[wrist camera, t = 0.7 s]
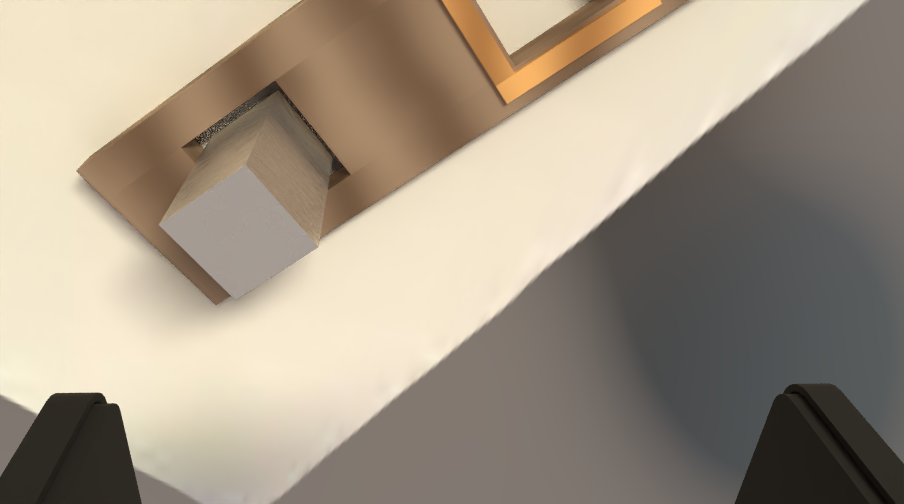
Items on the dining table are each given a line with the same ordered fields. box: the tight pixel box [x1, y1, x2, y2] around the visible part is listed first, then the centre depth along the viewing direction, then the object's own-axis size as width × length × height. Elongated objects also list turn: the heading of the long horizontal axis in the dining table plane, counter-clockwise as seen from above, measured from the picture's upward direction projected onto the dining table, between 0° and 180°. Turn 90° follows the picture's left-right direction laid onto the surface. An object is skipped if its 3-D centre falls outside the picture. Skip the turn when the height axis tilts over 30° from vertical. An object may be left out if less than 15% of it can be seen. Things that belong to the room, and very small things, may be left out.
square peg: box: [159, 90, 333, 300], centre depth 33 cm, size 4×4×10 cm
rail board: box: [77, 0, 688, 305], centre depth 34 cm, size 32×10×2 cm, turn 123°
